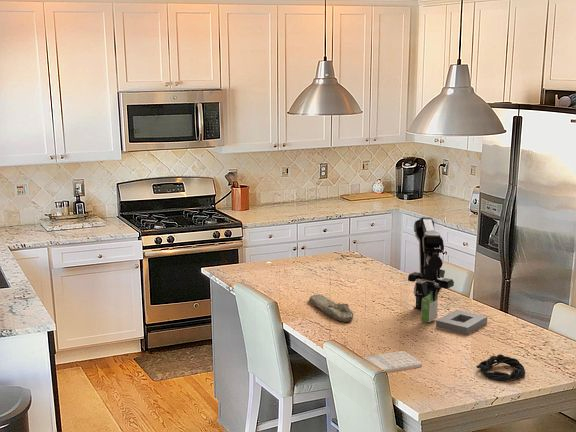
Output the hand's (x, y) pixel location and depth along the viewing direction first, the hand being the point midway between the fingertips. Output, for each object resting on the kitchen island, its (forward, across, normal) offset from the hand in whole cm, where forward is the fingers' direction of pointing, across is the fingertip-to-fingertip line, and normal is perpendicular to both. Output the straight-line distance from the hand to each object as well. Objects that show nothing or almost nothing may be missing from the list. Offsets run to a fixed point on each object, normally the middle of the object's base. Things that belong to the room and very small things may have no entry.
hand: (429, 299), depth 309 cm
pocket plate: (+9, -13, -4) cm, 16 cm away
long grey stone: (+10, +40, +16) cm, 44 cm away
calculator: (+10, -12, +50) cm, 52 cm away
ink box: (+9, 0, 0) cm, 9 cm away
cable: (+10, -47, +31) cm, 57 cm away
